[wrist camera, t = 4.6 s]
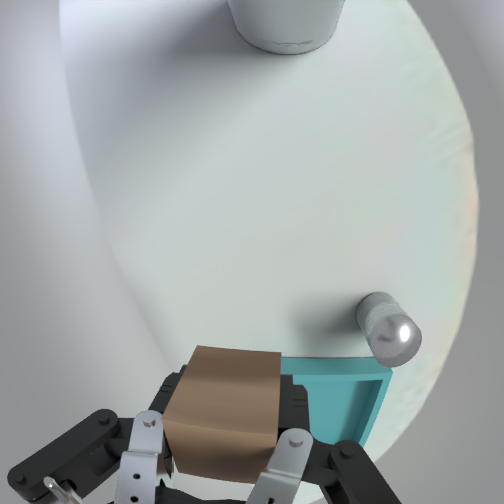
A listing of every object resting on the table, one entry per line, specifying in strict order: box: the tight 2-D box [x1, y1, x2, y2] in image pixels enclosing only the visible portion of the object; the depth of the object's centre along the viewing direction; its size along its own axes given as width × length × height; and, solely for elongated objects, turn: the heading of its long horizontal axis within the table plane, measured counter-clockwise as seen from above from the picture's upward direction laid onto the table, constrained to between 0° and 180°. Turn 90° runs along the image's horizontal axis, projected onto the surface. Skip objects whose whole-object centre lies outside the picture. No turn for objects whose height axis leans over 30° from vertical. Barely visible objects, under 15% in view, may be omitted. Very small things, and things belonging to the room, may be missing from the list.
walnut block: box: [161, 345, 281, 484], centre depth 11 cm, size 4×4×5 cm
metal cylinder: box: [356, 292, 422, 368], centre depth 21 cm, size 4×4×6 cm
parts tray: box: [280, 357, 393, 448], centre depth 26 cm, size 14×14×3 cm
